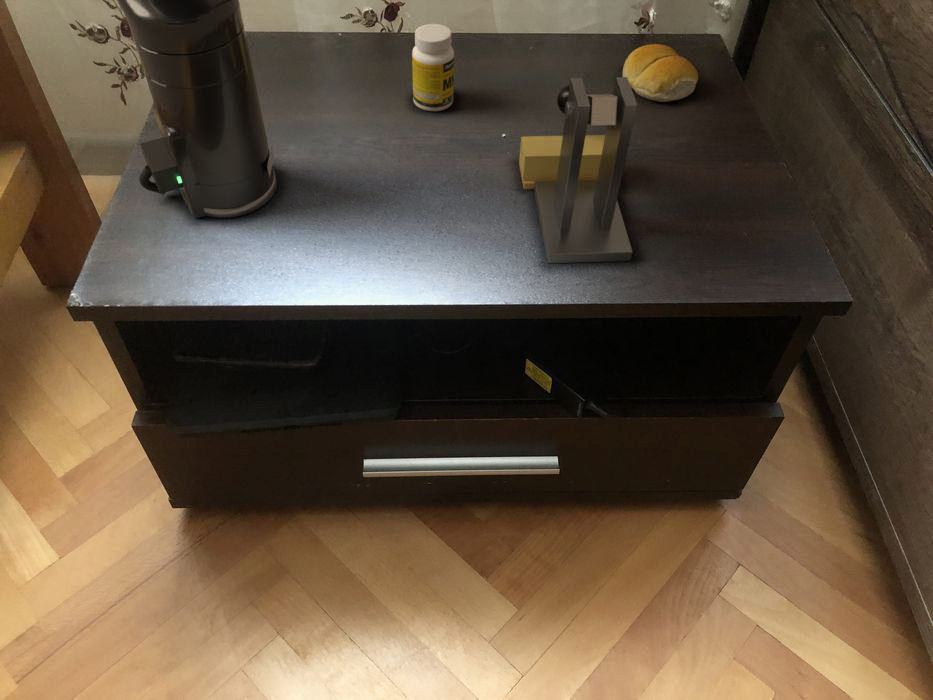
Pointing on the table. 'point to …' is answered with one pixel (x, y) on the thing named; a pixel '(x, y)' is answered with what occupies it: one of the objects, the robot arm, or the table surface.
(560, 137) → the butter
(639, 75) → the bread roll
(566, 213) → the stand
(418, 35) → the supplement bottle
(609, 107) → the knife lever
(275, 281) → the table surface
